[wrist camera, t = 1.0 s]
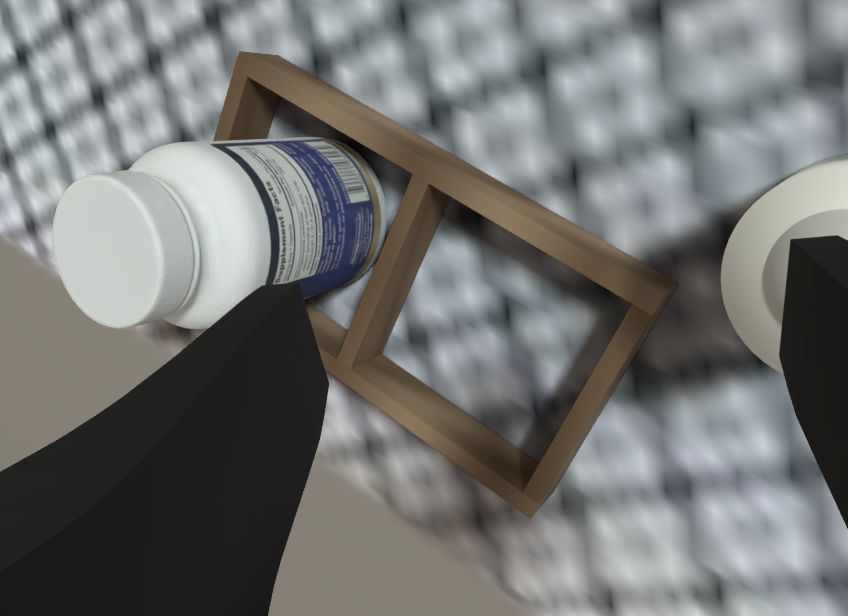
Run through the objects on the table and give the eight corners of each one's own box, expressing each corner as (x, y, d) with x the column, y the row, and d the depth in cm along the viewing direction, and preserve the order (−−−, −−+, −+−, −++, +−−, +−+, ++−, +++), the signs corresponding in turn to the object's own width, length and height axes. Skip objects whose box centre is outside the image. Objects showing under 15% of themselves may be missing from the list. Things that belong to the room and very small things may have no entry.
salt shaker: (993, 205, 19) (1043, 244, 13) (880, 354, 21) (881, 445, 15) (817, 123, 20) (793, 126, 15) (726, 269, 22) (673, 323, 16)
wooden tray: (678, 283, 23) (662, 297, 21) (552, 492, 26) (530, 518, 25) (277, 55, 28) (239, 51, 26) (216, 254, 31) (178, 262, 30)
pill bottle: (271, 279, 30) (43, 340, 22) (265, 135, 29) (21, 142, 21) (393, 294, 28) (187, 370, 19) (392, 137, 26) (171, 146, 18)
